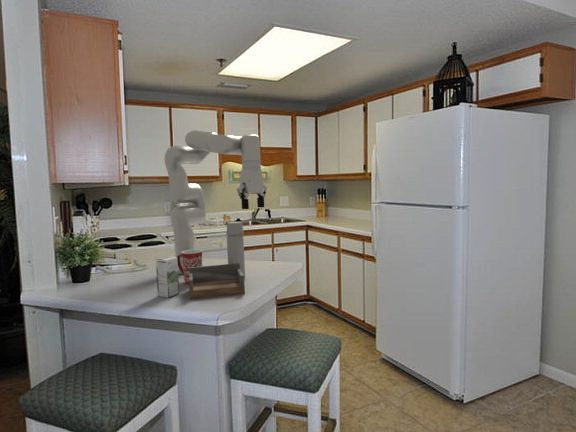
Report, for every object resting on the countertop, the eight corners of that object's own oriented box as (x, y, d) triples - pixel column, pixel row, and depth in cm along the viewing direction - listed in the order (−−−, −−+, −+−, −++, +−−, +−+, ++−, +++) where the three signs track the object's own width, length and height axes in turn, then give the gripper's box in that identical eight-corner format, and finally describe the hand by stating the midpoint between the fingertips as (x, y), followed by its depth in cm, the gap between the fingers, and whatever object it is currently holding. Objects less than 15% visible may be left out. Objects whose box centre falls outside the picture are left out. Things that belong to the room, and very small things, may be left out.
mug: (208, 280, 170) (207, 249, 169) (194, 285, 162) (192, 253, 161) (186, 278, 176) (185, 248, 175) (172, 283, 168) (170, 252, 167)
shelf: (190, 289, 157) (189, 267, 156) (240, 284, 161) (239, 263, 160) (190, 299, 143) (188, 275, 142) (244, 293, 148) (243, 270, 147)
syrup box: (169, 292, 154) (166, 255, 153) (179, 294, 151) (177, 256, 150) (157, 296, 149) (154, 258, 148) (168, 298, 146) (166, 259, 145)
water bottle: (243, 282, 165) (240, 223, 162) (225, 282, 166) (222, 223, 164) (249, 277, 174) (247, 220, 171) (232, 276, 175) (230, 221, 173)
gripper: (258, 166, 168) (259, 206, 170) (229, 166, 154) (231, 209, 156) (271, 165, 164) (273, 206, 165) (243, 165, 150) (246, 209, 151)
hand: (253, 208), depth 161 cm, fingers open, 9 cm apart
